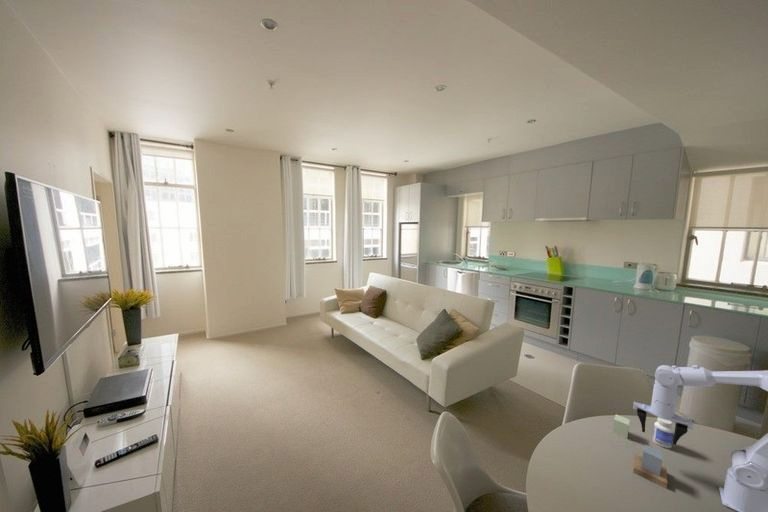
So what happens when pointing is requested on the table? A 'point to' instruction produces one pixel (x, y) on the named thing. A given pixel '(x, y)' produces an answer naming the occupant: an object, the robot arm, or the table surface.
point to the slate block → (652, 460)
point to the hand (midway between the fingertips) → (658, 436)
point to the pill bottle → (663, 433)
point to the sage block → (621, 426)
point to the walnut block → (650, 473)
